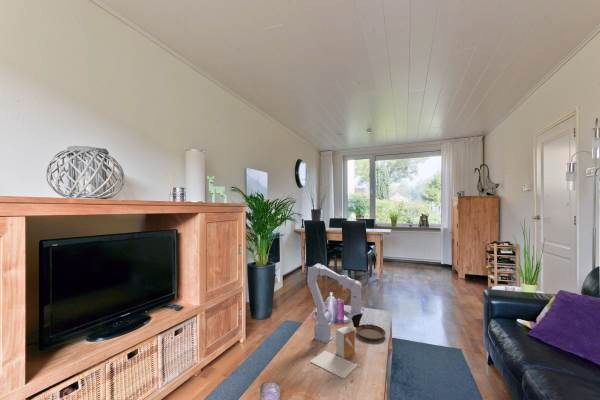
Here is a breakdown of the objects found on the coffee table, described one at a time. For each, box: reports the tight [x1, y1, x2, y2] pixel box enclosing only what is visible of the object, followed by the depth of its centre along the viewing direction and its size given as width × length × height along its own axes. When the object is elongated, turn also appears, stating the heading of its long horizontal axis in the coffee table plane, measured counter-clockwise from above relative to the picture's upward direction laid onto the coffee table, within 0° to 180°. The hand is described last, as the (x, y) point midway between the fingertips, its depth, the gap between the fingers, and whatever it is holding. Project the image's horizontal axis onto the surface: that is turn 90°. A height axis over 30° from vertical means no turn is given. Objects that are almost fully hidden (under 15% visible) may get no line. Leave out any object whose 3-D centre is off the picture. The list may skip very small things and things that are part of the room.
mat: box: [309, 350, 358, 380], centre depth 134 cm, size 20×13×1 cm, turn 49°
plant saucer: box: [355, 323, 387, 342], centre depth 163 cm, size 18×18×3 cm
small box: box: [335, 325, 356, 360], centre depth 143 cm, size 8×6×13 cm
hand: (356, 326), depth 152 cm, fingers closed
